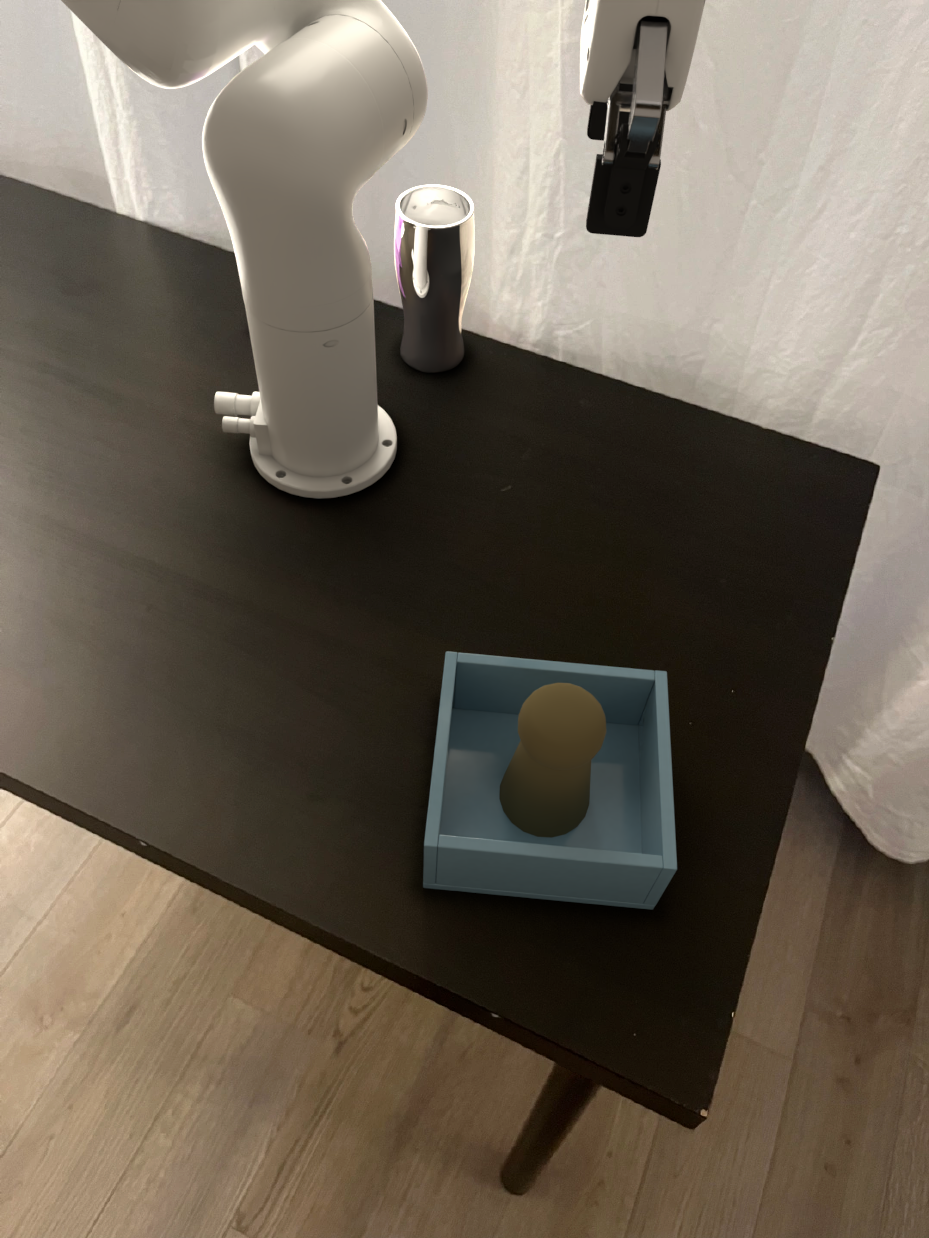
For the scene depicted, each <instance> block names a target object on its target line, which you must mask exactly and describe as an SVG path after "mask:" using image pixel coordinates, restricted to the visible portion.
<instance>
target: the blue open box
mask: <svg viewBox="0 0 929 1238" xmlns="http://www.w3.org/2000/svg"><path fill="white" fill-rule="evenodd" d="M443 662H444V663H443V672H442V678H441V680H442V681H441V689H440V696H439V697H440V699H439V706H438V716H437V725H436V732H435V733H436V735H435V741H434V742H435V743H434V752H433V759H432V769H431V777H430V787H429V794H428V804H427V813H426V821H425V822H426V823H425V831H424V840H423V861H422V862H423V864H422V865H423V866H422V867H423V868H422V869H423V870H422V888H424V889H431V890H442V891H453V892H461V893H462V892H463V893H473V894H475V893H476V894H485V895H495V896H505V897H515V898H528V899H537V900H545V901H546V900H548V901H559V902H569V903H578V904H588V905H589V904H590V905H601V906H609V907H610V906H611V907H620V908H631V909H632V908H633V909H641V910H652V911H653V910H654V909H655V908H656V906H657V905H658V903H659V901H660V900H661V898H662V897H663V894H664V892H665V891H666V889H667V887H668V886H669V884H670V883H671V880H672V879H673V878H674V875H676V872H677V871H678V857H677V840H676V819H675V800H674V780H673V763H672V761H673V760H672V744H671V743H672V741H671V726H670V725H671V724H670V706H669V705H670V704H669V687H668V686H669V685H668V672H667V671H666V670H653V669H644V668H643V669H642V668H631V667H619V666H610V665H609V666H608V665H599V664H588V663H577V662H567V661H566V662H565V661H557V660H556V661H553V660H545V659H533V658H522V657H521V658H520V657H511V656H503V655H502V656H501V655H492V654H491V655H489V654H479V653H468V652H457V651H449V650H448V651H445V653H444V661H443ZM554 683H570V684H573V685H576V686H579V687H582V688H583V689H585V690H586V691H588V692H589V693H591V694H592V695H593V696H594V697H595V699H596V700H597V701H598V702H599V703H600V704H601V707H602V709H603V712H604V714H605V718H606V735H605V738H604V741H603V744H602V747H601V749H600V750H599V751H598V753H597V754H596V755H595V756H594V758H593V759H592V760H591V777H590V799H589V807H588V810H587V813H586V816H585V818H584V819H583V820H582V821H581V823H580V824H579V825H578V826H577V827H576V828H575V829H573V830H571V831H570V832H568V833H567V834H564V835H560V836H556V837H552V838H550V837H537V836H534V835H531V834H528V833H526V832H523V831H522V830H521V829H519V828H518V827H517V826H515V825H514V824H513V823H512V822H511V821H510V820H509V818H508V817H507V816H506V814H505V813H504V811H503V808H502V805H501V802H500V799H499V798H500V784H501V782H502V779H503V776H504V774H505V772H506V770H507V768H508V766H509V763H510V761H511V759H512V757H513V755H514V753H515V751H516V749H517V747H518V745H519V743H520V737H519V734H518V716H519V713H520V710H521V708H522V705H523V703H524V702H525V701H526V699H527V698H528V697H529V696H530V695H531V694H532V693H533V692H534V691H535V690H537V689H539V688H541V687H542V686H544V685H549V684H554Z"/></svg>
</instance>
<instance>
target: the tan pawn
mask: <svg viewBox="0 0 929 1238" xmlns="http://www.w3.org/2000/svg"><path fill="white" fill-rule="evenodd" d="M518 734H519V737H520V743H519V745H518V747H517V749H516V751H515V753H514V755H513V757H512V759H511V761H510V763H509V766H508V768H507V770H506V772H505V774H504V776H503V779H502V782H501V784H500V798H499V799H500V802H501V805H502V808H503V811H504V813H505V814H506V816H507V817H508V818H509V820H510V821H511V822H512V823H513V824H514V825H515V826H517V827H518V828H519V829H521V830H522V831H523V832H526V833H528V834H531V835H534V836H537V837H550V838H552V837H556V836H560V835H564V834H567V833H568V832H570V831H571V830H573V829H575V828H576V827H577V826H578V825H579V824H580V823H581V821H582V820H583V819H584V818H585V816H586V813H587V810H588V807H589V799H590V777H591V760H592V759H593V758H594V756H595V755H596V754H597V753H598V751H599V750H600V749H601V747H602V744H603V741H604V738H605V735H606V718H605V714H604V712H603V709H602V707H601V704H600V703H599V702H598V701H597V700H596V699H595V697H594V696H593V695H592V694H591V693H589V692H588V691H586V690H585V689H583V688H582V687H579V686H576V685H573V684H570V683H554V684H549V685H544V686H542V687H541V688H539V689H537V690H535V691H534V692H533V693H532V694H531V695H530V696H529V697H528V698H527V699H526V701H525V702H524V703H523V705H522V708H521V710H520V713H519V716H518Z"/></svg>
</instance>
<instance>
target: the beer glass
mask: <svg viewBox="0 0 929 1238" xmlns="http://www.w3.org/2000/svg"><path fill="white" fill-rule="evenodd" d="M475 229H476V227H475V203H474V201H473V200H472V198H471V197H470V196H469V195H468V194H467V193H466V192H464V191H462V190H460V189H458V188H455V187H453V186H448V185H443V184H423V185H417V186H414V187H411V188H409V189H407V190H405V191H404V192H401V194H400V195H399V196H398V198H397V199H396V202H395V217H394V231H393V232H394V233H393V234H394V235H393V257H394V258H393V259H394V260H393V261H394V270H395V276H396V281H397V286H398V291H399V297H400V300H401V307H402V311H403V319H404V320H403V321H404V322H403V323H404V325H403V332H402V337H401V343H400V348H399V349H400V357H401V358H402V360H403V362H404V363H405V364H406V365H408V366H409V367H410V368H412V369H414V370H416V371H418V372H423V373H428V374H429V373H430V374H437V373H438V374H439V373H445V372H448V371H451V370H452V369H454V368H456V367H457V366H458V365H460V364H461V362H462V361H463V359H464V356H465V343H464V339H463V333H462V332H463V331H462V322H463V314H464V309H465V305H466V301H467V297H468V293H469V289H470V285H471V282H472V275H473V270H474V263H475V251H476V249H475V248H476V233H475V232H476V231H475Z"/></svg>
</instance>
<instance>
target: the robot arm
mask: <svg viewBox="0 0 929 1238" xmlns="http://www.w3.org/2000/svg"><path fill="white" fill-rule="evenodd" d="M60 1H61V2H62V3H63V4H64V5H65V6H66V8H68V9H69V10H70V11H71V12H72V13H73V15H75V17H77V18H78V19H79V20H80V22H82V23H83V24H84V26H86V28H87V29H88V30H89V31H90V32H91V33H92V34H94V36H95V37H97V39H98V40H99V41H100V42H101V43H102V44H103V45H104V46H105V47H106V48H107V49H108V50H110V52H111V53H112V54H113V55H114V56H115V57H116V58H118V59H119V60H120V61H121V62H122V63H123V64H124V65H125V66H126V67H127V68H129V70H130V71H132V72H133V73H134V74H136V75H137V76H138V77H140V78H141V79H142V80H143V81H145V82H147V83H149V84H150V85H152V86H155V87H157V88H161V89H165V90H166V89H167V90H174V89H176V90H177V89H181V88H184V87H188V86H191V85H194V84H195V83H197V82H199V81H201V80H203V79H205V78H207V77H208V76H210V75H211V74H213V73H215V72H216V71H217V70H219V69H221V68H222V67H224V66H225V65H226V64H228V63H229V62H232V61H233V60H234V59H236V58H237V57H238V56H240V55H242V54H243V53H245V52H246V51H247V50H250V48H252V47H253V46H256V47H257V49H259V50H260V51H261V52H262V53H263V54H262V55H261V56H260V57H259V58H257V59H256V60H254V61H253V62H251V63H250V64H249V65H247V66H245V67H244V68H243V69H242V70H241V71H240V72H238V73H237V74H235V75H234V76H233V77H232V78H231V79H230V80H229V81H228V82H227V83H226V85H225V86H224V87H223V88H222V89H221V90H220V91H219V93H218V94H217V96H215V99H214V100H213V102H212V103H211V105H210V107H209V109H208V111H207V113H206V114H207V115H206V117H205V120H204V124H203V127H202V134H201V149H202V156H203V162H204V165H205V170H206V173H207V175H208V178H209V181H210V183H211V186H212V188H213V192H214V193H215V194H214V195H215V196H216V199H217V201H218V204H219V206H220V208H221V209H220V210H221V212H222V214H223V217H224V220H225V223H226V226H227V230H228V231H229V235H230V239H231V243H232V247H233V251H234V256H235V261H236V265H237V272H238V276H239V277H238V278H239V282H240V288H241V295H242V299H243V303H244V308H245V309H244V310H245V314H246V321H247V326H248V332H249V333H248V334H249V338H250V344H251V349H252V350H251V351H252V356H253V362H254V368H255V374H256V381H257V385H258V391H253V392H252V393H251V395H250V394H249V395H247V394H239V393H238V392H229V391H216V392H215V395H214V397H213V398H214V399H213V409H214V413H215V414H216V415H221V416H222V421H221V431H222V433H227V434H228V433H229V434H247V435H249V443H248V444H249V450H250V451H249V452H250V456H251V460H252V463H253V466H254V468H255V469H256V470H257V472H258V473H259V475H260V476H261V477H262V478H263V479H264V480H265V481H266V482H267V483H269V484H270V485H272V486H273V487H275V488H276V489H278V490H280V491H283V492H285V493H287V494H290V495H294V496H299V497H301V498H310V499H335V498H338V497H339V498H341V497H344V496H345V497H346V496H348V495H352V494H354V493H358V492H360V491H362V490H365V489H366V488H368V487H370V486H372V485H373V484H375V483H376V482H377V481H379V480H380V479H381V478H382V477H383V476H384V475H385V474H386V473H387V472H388V471H389V470H390V469H391V467H392V464H393V462H394V460H395V459H396V455H397V450H398V436H397V429H396V426H395V424H394V422H393V419H392V418H391V416H390V415H389V414H388V413H387V412H386V411H385V409H384V408H383V407H381V406H380V405H379V404H378V381H377V356H376V355H377V354H376V329H375V326H376V325H375V303H374V287H373V286H374V284H373V267H372V260H371V254H370V250H369V247H368V245H367V242H366V240H365V238H364V236H363V235H362V233H361V231H360V230H359V228H358V226H357V224H356V221H355V219H354V211H353V208H354V201H355V198H356V196H357V194H358V193H359V191H360V190H361V189H362V188H363V187H364V186H365V185H366V184H367V183H369V181H370V180H371V179H372V178H373V177H374V176H375V174H376V173H377V172H378V171H379V170H380V169H381V168H382V167H384V165H386V164H387V163H388V162H389V161H390V160H391V159H392V158H393V157H394V156H395V155H396V154H398V153H399V152H400V151H401V150H402V149H403V148H404V147H405V146H406V145H407V144H408V143H409V142H410V141H411V139H413V137H414V136H415V135H416V134H417V132H418V130H419V129H420V127H421V125H422V124H423V123H422V122H423V120H424V118H425V115H426V111H427V108H428V99H429V90H428V89H429V87H428V81H427V80H428V79H427V74H426V70H425V67H424V64H423V61H422V58H421V56H420V54H419V52H418V50H417V47H416V46H415V44H414V42H413V41H412V39H411V38H410V36H409V34H408V32H407V31H406V30H405V28H404V27H403V26H402V24H401V23H400V22H399V20H398V19H397V17H396V16H395V15H394V14H393V12H392V11H391V10H390V9H389V8H388V7H387V5H386V4H385V2H383V1H382V0H60ZM705 4H706V0H585V4H584V8H583V17H582V23H581V29H580V43H579V94H580V96H581V98H582V100H583V101H584V102H585V103H586V104H587V105H589V114H588V119H587V120H588V121H587V126H586V136H587V137H588V139H590V140H593V141H603V144H602V153H596V156H595V162H594V168H593V175H592V181H591V188H590V192H589V199H588V206H587V213H586V217H585V218H586V219H585V220H586V221H585V229H586V231H587V232H588V233H590V234H593V235H594V234H595V235H606V236H617V237H629V238H642V237H644V236H645V235H646V234H647V231H648V227H649V221H650V217H651V213H652V210H653V209H652V208H653V203H654V199H655V194H656V190H657V185H658V180H659V176H660V172H661V168H662V167H661V166H662V159H661V156H662V148H663V142H664V141H663V140H664V133H665V132H664V131H665V123H666V117H667V112H669V111H671V110H673V109H674V108H675V107H677V106H678V105H679V104H681V103H680V102H681V100H682V97H683V94H684V92H685V88H686V84H687V81H688V78H689V77H688V76H689V72H690V69H691V65H692V60H693V56H694V52H695V48H696V44H697V40H698V36H699V31H700V28H701V21H702V18H703V13H704V9H705ZM238 416H247V417H250V418H243V417H242V418H241V417H238Z"/></svg>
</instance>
